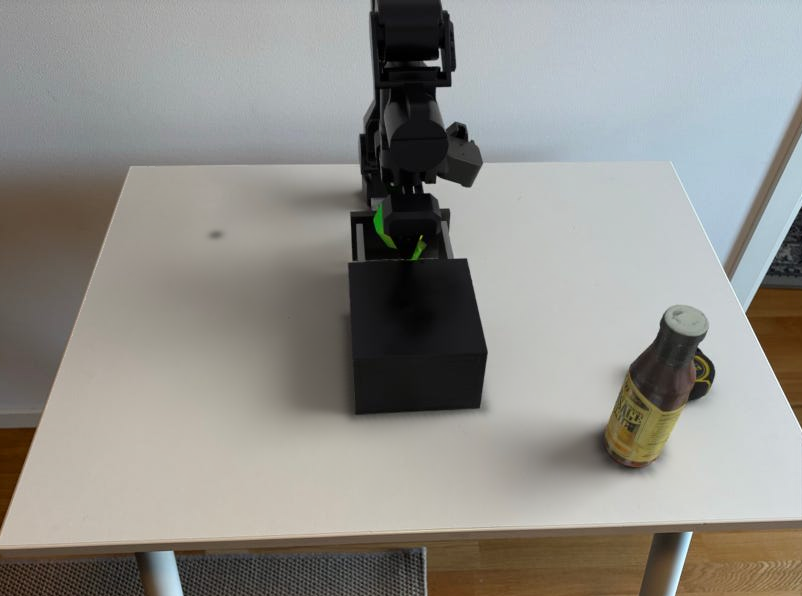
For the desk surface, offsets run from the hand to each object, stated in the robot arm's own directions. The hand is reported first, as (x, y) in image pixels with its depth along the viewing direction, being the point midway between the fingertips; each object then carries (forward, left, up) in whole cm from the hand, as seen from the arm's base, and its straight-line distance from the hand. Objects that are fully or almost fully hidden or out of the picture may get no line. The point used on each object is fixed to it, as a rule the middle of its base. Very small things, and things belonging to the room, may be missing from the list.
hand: (404, 237), depth 91 cm
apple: (0, 0, -1) cm, 1 cm away
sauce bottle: (-15, +32, -9) cm, 37 cm away
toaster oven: (+3, +12, -9) cm, 15 cm away
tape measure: (-25, +25, -9) cm, 36 cm away
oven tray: (0, -2, -8) cm, 8 cm away
